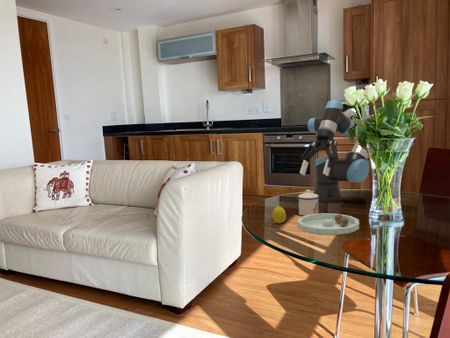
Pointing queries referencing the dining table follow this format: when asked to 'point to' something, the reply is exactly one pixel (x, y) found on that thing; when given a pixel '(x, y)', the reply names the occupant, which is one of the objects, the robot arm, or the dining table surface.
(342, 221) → the walnut bead
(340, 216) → the walnut bead
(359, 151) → the robot arm
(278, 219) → the lemon
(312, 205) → the teacup with lid
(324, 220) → the tray
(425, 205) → the dining table surface
